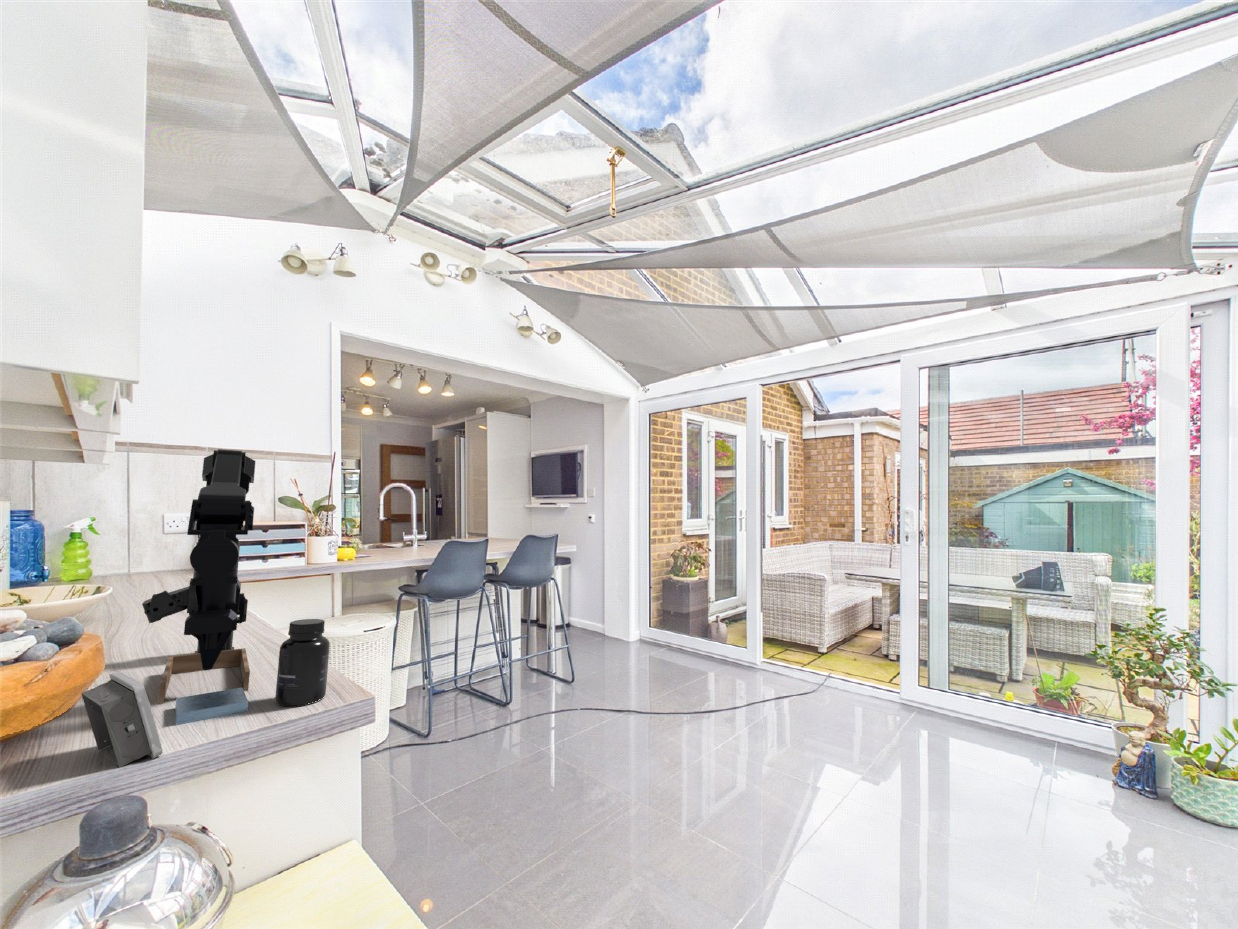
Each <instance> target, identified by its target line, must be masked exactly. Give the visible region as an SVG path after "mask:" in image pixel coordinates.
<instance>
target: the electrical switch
mask: <svg viewBox="0 0 1238 929" xmlns="http://www.w3.org/2000/svg"><path fill="white" fill-rule="evenodd" d="M145 688H146V687H145V686H144V684H143V682H141V681H138V680H136V679H135V678H133V677H130V676H129V675H127V674H126V673H123V672H121V671H114V672H112V673H109V680H108V681H107V682H104V683H101V684H99V685H98V686H95V687H94V688H90V689H88V690H87V689H86V690H85V691H82V692H81V693H80V694H81V698H82V702H83V703H84V707H85V711H86V714H87V717H88V720H89V723H90V727H91V729H92V733H93V738H94V741H95V744H96V747H97V750H98V751H99V753H101V754H102V755H104V756H105V757H106V758H107V759H109V760H110V761H111V762H113V763H114V764H115V765H116V766H117V767H118V768H122V767H123V766H126V765H128V764H130V763H132V762H135V761H137V760H139V759H141V758H143V757H145V756H149V757H150V758H151V759H153V760H154V759H156V758H157V757H159V756H161V755H162V754H163V748H162V743H161V738H160V734H159V731H158V728H157V724H156V721H155V717H154V714H153V710H152V706H151V703H150V700H149V698H148V695H147V692H146V689H145Z"/></svg>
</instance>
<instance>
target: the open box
mask: <svg viewBox="0 0 1238 929" xmlns="http://www.w3.org/2000/svg"><path fill="white" fill-rule="evenodd" d="M246 649H247V648H245V647H242V648H237V649H236V648H234V650H225V651H221V653H220V654H219V656H218V658H217V660H216V662H215V664H214V666H213V668H212V669H211V670H215V669H217V670H218V669H223V668H232V667H239V665H240V673H241V681H242V688H243V690H244V692H246V691H249V687H250V686H249V685H250V677H251V676H250V675H251V673H250V672H251V670H250V664H249V660H248V656H247V650H246ZM200 671H204V670H203V667H202V661H201V655H200V653H198V654H194V653H191V654H180V655H174V656H168V659H167V663H166V666H165V668H164V670H163V674H162V676H161V679H160V682H159V691H158V699H157V700H158V701H157V705H160V704H164V703H165V698H166V695H167V691H168V689H169V684H170V681H171V677H172V676H173V675H177V674H185V673H190V672H191V673H193V672H200Z"/></svg>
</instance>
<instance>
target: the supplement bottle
mask: <svg viewBox="0 0 1238 929" xmlns="http://www.w3.org/2000/svg"><path fill="white" fill-rule="evenodd" d="M325 623H326V622H325V619H321V618H320V619H319V618H305V619H304V618H303V619H297V620H293V621H290V622H289V627H288V628H289V630H288V634H287V635H288V636H289V638H288V639H286V640H284V641H283V642H282V643H281V645H280V646H279V653H278V654H279V655H278V663H277V664H278V665H277V675H276V686H275V687H276V688H275V699H274V701H275V703H276V704H277V705H278V706H281V707H288V708H292V707H291V706H296V707H299V706H298V705H304V706H306V705H305V704H308V703H312V702H315V701H318V700H319V699H321V698H323V697H324V698H325V697H326V692H327V684H328V682H327V681H328V670H329V659H330V646H331V644H330V640H329V639H328V638H327V637H326V636H324V635H323V634H324V633H325ZM324 698H323V699H324ZM321 700H322V699H321ZM318 702H319V701H318Z"/></svg>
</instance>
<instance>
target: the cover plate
mask: <svg viewBox="0 0 1238 929" xmlns="http://www.w3.org/2000/svg"><path fill="white" fill-rule="evenodd" d="M248 706H249V701H248V698H247V696H246V693H245V691H244V689H243V686H242V687H237V688H231V689H223V690H218V691H212V692H205V693H200V694H193V695H186V696H182V697H176V699H175V708H174V710H175V711H174V713H175V726H181V725H184V724H185V725H186V724H189V723H190V724H191V723H196V722H201V721H206V720H207V721H208V720H212V719H217V718H223V717H228V716H234V715H239V714H244V713H248V710H249V709H248Z"/></svg>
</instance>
